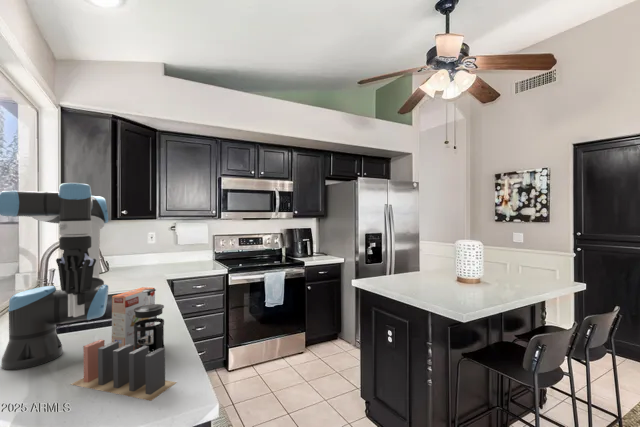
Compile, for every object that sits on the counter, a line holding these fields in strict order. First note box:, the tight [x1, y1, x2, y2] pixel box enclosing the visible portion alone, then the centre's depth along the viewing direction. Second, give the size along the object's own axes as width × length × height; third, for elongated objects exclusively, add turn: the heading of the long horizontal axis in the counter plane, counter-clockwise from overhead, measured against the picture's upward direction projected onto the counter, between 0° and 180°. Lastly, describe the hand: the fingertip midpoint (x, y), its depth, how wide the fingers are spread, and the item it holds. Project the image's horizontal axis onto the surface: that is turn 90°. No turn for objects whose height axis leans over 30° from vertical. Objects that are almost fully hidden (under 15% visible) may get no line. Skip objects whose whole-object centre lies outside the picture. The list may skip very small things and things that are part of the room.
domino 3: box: [129, 346, 150, 392], centre depth 86 cm, size 2×5×10 cm, turn 163°
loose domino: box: [82, 339, 106, 383], centre depth 91 cm, size 2×5×10 cm, turn 163°
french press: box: [134, 288, 165, 352], centre depth 105 cm, size 12×9×23 cm
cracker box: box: [111, 286, 156, 348], centre depth 112 cm, size 14×6×21 cm, turn 168°
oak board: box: [70, 377, 178, 402], centre depth 88 cm, size 28×9×1 cm, turn 73°
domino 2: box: [113, 344, 134, 388], centre depth 88 cm, size 2×5×10 cm, turn 163°
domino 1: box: [98, 341, 119, 385], centre depth 89 cm, size 2×5×10 cm, turn 163°
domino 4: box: [145, 347, 166, 395], centre depth 85 cm, size 2×5×10 cm, turn 163°
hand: (76, 315), depth 93 cm, fingers closed
